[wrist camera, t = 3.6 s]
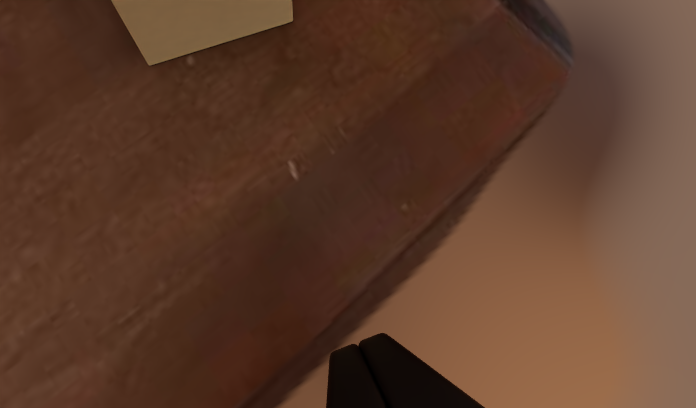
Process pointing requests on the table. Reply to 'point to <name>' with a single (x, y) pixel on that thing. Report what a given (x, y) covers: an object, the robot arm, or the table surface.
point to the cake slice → (196, 23)
